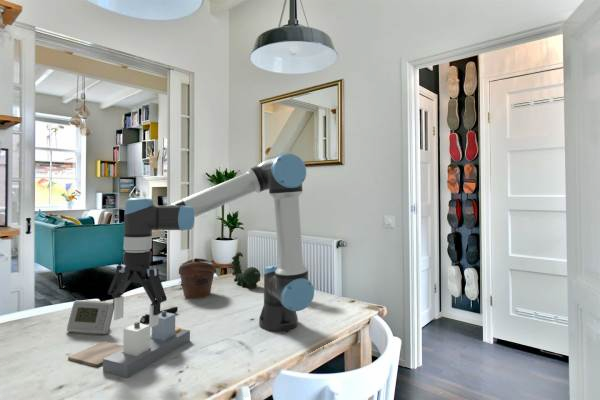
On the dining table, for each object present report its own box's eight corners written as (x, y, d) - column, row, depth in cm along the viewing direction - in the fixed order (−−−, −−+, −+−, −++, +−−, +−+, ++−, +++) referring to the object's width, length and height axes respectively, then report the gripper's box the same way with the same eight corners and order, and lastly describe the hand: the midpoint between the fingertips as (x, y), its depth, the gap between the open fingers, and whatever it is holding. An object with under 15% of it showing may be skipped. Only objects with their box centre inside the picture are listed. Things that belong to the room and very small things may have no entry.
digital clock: (63, 332, 123) (63, 303, 122) (86, 323, 131) (86, 296, 131) (97, 339, 117) (98, 308, 117) (119, 329, 126) (119, 301, 126)
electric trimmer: (179, 314, 144) (179, 307, 144) (144, 325, 132) (144, 316, 132) (174, 312, 146) (174, 305, 146) (139, 322, 134) (139, 314, 134)
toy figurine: (228, 285, 196) (253, 291, 177) (227, 252, 197) (251, 254, 178) (242, 283, 202) (267, 288, 184) (241, 250, 203) (266, 252, 185)
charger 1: (149, 355, 103) (150, 321, 103) (136, 362, 98) (136, 327, 98) (136, 352, 105) (137, 319, 105) (123, 359, 100) (123, 324, 100)
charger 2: (175, 341, 113) (175, 310, 113) (164, 347, 109) (164, 315, 109) (163, 338, 115) (163, 308, 115) (151, 344, 111) (152, 312, 110)
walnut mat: (131, 350, 110) (131, 347, 110) (97, 367, 98) (97, 364, 98) (103, 343, 114) (103, 341, 114) (68, 359, 103) (68, 356, 103)
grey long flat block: (189, 340, 117) (190, 328, 117) (127, 377, 93) (127, 362, 93) (168, 336, 121) (169, 324, 121) (102, 371, 96) (103, 356, 96)
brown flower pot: (198, 287, 185) (199, 254, 185) (224, 294, 174) (224, 258, 173) (169, 295, 171) (169, 259, 170) (194, 303, 159) (194, 264, 159)
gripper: (180, 252, 100) (178, 324, 101) (117, 245, 109) (115, 312, 109) (161, 256, 93) (159, 333, 94) (95, 248, 102) (93, 319, 102)
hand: (135, 322), depth 101 cm, fingers open, 13 cm apart
